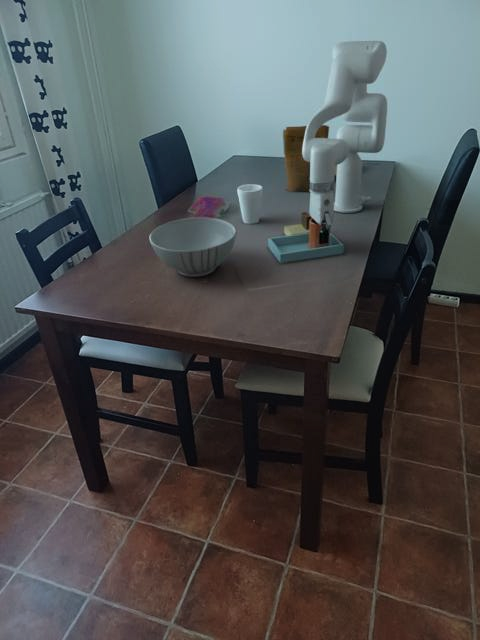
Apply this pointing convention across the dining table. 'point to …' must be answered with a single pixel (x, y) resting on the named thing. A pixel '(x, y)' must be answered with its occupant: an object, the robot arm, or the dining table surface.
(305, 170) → the pancake mix bag
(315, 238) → the cup
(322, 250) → the blue tray
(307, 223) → the brown switch lever
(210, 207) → the pink plastic packet
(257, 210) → the foam cup
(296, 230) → the switch panel
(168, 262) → the decorative bowl
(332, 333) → the dining table surface
